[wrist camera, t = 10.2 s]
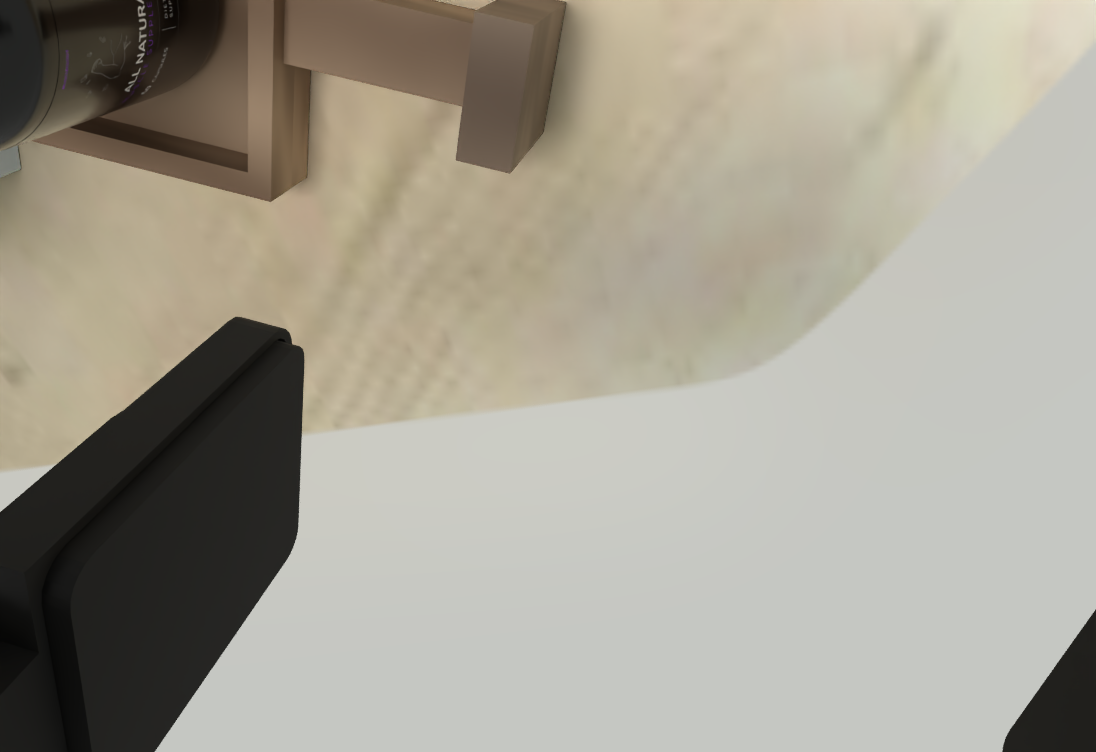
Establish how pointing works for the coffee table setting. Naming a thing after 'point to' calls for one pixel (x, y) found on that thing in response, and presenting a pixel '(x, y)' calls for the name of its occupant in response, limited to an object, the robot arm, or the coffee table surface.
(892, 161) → the coffee table surface
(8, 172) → the shelf
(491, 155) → the paddle tray
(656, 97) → the coffee table surface
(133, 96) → the supplement bottle
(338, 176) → the coffee table surface
